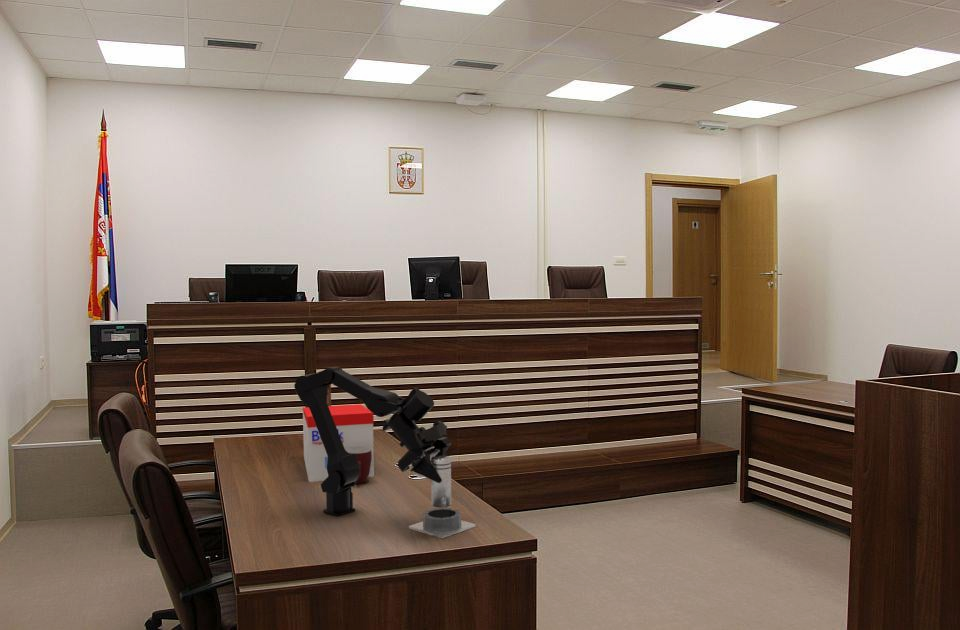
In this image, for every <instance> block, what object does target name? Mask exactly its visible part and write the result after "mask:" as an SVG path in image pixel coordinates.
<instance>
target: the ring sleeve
mask: <svg viewBox="0 0 960 630" xmlns="http://www.w3.org/2000/svg"><path fill="white" fill-rule="evenodd" d="M475 527H476V523H473V522H468V521H465V520H463V519H462V512H461V511H460V509H455V508H453V507H450V508H449V507H442V508H440V507H435V508H431V509H427V510H425V511H424V512H423V513H422V521H420V522H417V523H414V524H411V525H408V529H410V530H413V531H416V532H419V533H422V534H426V535H429V536H432V537H435V538H437V539H445V538H448V537H452V536H453V535H456V534H459V533H461V532H464V531H468V530H470V529H473V528H475Z"/></svg>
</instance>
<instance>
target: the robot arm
mask: <svg viewBox="0 0 960 630" xmlns="http://www.w3.org/2000/svg"><path fill="white" fill-rule="evenodd" d="M329 385H331V386H332V385H333V386H335V387H336V388H338V389H340V390H342V391H344V392H346V393H347V394H349V395H350V396H353V397H354V398H355V399H358V400H360V401H361V402H362V403H363V404H364V405H365V408H367V409H368V410H370V411H371V412H372V413H373V415H375V416H376V417H378V418H382V417H383V418H384V417H386V416H390V417H389V418H387V419H384V420H382V422H383V424H382V431H383V432H384V431H385V432H386V431H388V430H392V432H393V433H394V434H395V435H396V437H397V438H398V439H399V440H400V443H399V446H400V447H401V448H403V447H405V448H406V449H407V452H406V453H405V454H403V456H402V457H401V458H400V459H399V460H398V461H397V468H398V469H399V470H400V472H401V473H405V472H407V471H410V472H412V473H413V472H414V473H415V474H418V475H421V476H423V477H426V478H427V479H429V480H433V481H435V482H437V483H440V482H441V481H442V479H441V478H440V476H439V474H438V473H437V471H436V470H435V468H434V467H433V465H432V464H431V458H432V457H434V456H447V454H446V453H447V450H448V448H449V447H450V446H452V444H453V443H452V441H451V440H450V439H449V437H447V435H448V434H447V429H448V427H447V425H445V423H444V422H443V421H442V420H438V421H436V422H433V423H432V426H431V427H429V428H425V427H423V426H421V427H419V425H417V423H416V422H420V421H421V420H422V419H423V418H424V417H425V416H426V415H427V414H428V412H429V411H430V410H431V409H433V407H434V406H435V401H434V399H433V398H432V396H431V395H430V394H428V393H426V392H424V391H422V390H420V389H419V387H415V388H412V389H411V391H410V393H408V395H407V396H406V397H405V398H404V397H401V396H399V395H398V394H397V393H396V392H393V391H390V390H387V389H384V388H377V387H374V386H372V385H370V384H368V383H366V382H365V381H363V380H361V379H359V378H358V377H356V376H354V375H352V374H351V373H349V372H346V371H345V370H343V369H342V368H341V367H340V366H337V365H336V366H332V367H331V366H330V367H326V368H325V369H323V370H321V371H317V372H316V373H315V372H314V373H309V374H304V375H299V376H298V377H297V378H296V379H295V382H294V391H295V392H296V394H297V396H298V397H299V399H300V401H301V402H302V403H303V404H304V405H305V406H306V407H309V409H310V411H311V414H312V416H313V419H314V422H315V424H316V427H317V429H318V432H319V435H320V437H321V440H322V443H323V445H324V448H325V450H326V453H327V456H328V461H327V472H328V477H327V478H326V479H325V480H324V481H321V482H322V483H320V488H321V491H322V493H325V498H326V501H325V502H326V503H325V504H326V508H324V509H323V510H322V512H324V513H326V514H329V515H332V516H336V517H339V516H341V515H346V514H348V513H352V512H355V511H356V508H354V507H353V506H354V498H353V495H354V493H353V492H352V487H355V486H356V484H355V483H356V480H357V479H358V478H359V474H360V469H359V467H360V465H359V463H358V461H357V458H356V455H355V453H353V454H349V453H348V452H347V451H346V450H345V448H344V446H343V443H342V441H341V438H340V435H339V433H338V430H337V428H336V425H335V422H334V420H333V417H332V415H331V412H330V410H329V407H328V404H327V393H328V390H327V386H329ZM399 410H400V411H399ZM398 411H399V412H398ZM445 436H446V437H445ZM410 466H412V468H411V469H410ZM452 477H453V473H452V472H451V478H452Z"/></svg>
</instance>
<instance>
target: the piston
mask: <svg viewBox="0 0 960 630" xmlns="http://www.w3.org/2000/svg"><path fill="white" fill-rule="evenodd" d="M430 461H431V464H432V465H433V467H434V468H435V470H436V471H437V473H438V474H439V476H440V478H441V479H442V481H441V482H440V483H437V482H435V481H433V480H431V479H430V480H431V482H430V483H431V486H430V487H431V506H432V507H435V508H449V507H451V505H452V477H451V473H452V457H451V456H448V455H445V456H434V457H432V458H431V459H430Z"/></svg>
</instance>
